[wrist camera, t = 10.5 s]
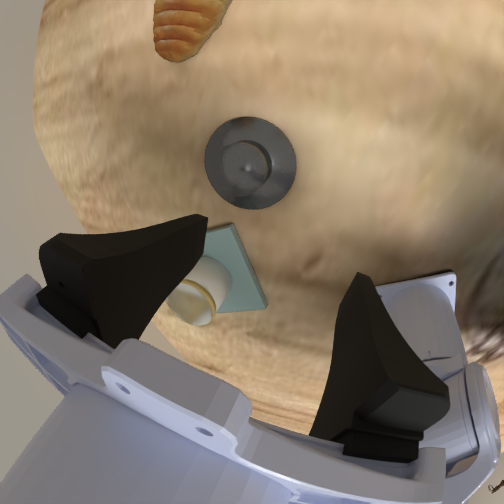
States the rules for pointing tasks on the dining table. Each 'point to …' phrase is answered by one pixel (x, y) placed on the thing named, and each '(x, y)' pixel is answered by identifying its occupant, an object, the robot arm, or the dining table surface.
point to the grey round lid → (250, 163)
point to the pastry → (185, 26)
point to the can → (201, 292)
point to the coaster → (235, 270)
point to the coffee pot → (503, 483)
